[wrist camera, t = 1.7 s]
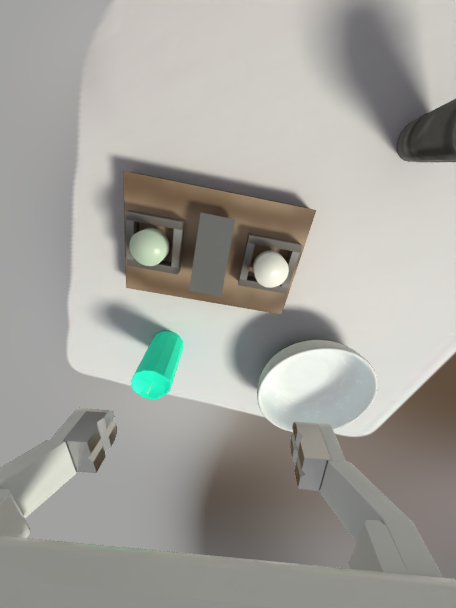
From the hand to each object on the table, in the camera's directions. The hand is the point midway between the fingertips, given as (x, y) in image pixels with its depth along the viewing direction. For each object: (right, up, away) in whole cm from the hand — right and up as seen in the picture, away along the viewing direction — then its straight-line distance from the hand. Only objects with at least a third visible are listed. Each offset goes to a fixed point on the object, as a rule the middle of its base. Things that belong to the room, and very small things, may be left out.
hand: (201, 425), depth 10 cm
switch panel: (-1, +14, +25) cm, 29 cm away
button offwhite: (+7, +11, +21) cm, 25 cm away
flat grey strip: (-1, +12, +21) cm, 24 cm away
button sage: (-9, +13, +20) cm, 26 cm away
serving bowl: (+17, -8, +36) cm, 41 cm away
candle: (-10, -2, +34) cm, 36 cm away
